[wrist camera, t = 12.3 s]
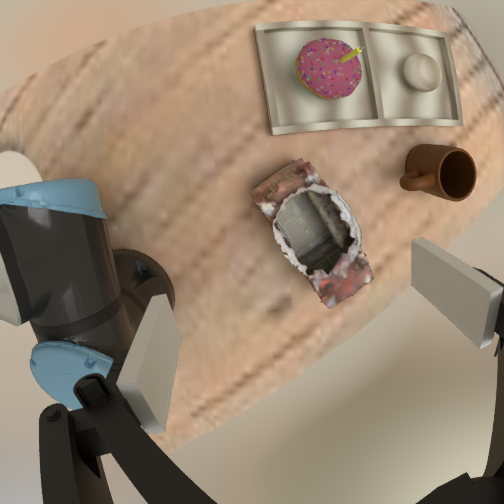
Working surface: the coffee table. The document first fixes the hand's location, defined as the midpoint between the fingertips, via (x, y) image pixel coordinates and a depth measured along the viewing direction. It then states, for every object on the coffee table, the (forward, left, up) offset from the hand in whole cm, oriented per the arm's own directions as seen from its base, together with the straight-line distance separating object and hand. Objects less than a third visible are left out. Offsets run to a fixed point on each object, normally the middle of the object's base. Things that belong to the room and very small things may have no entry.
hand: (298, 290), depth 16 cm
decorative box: (+8, -5, -31) cm, 32 cm away
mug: (+24, +1, -31) cm, 39 cm away
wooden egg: (+26, +16, -30) cm, 42 cm away
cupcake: (+11, +16, -30) cm, 35 cm away
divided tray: (+18, +16, -31) cm, 39 cm away
